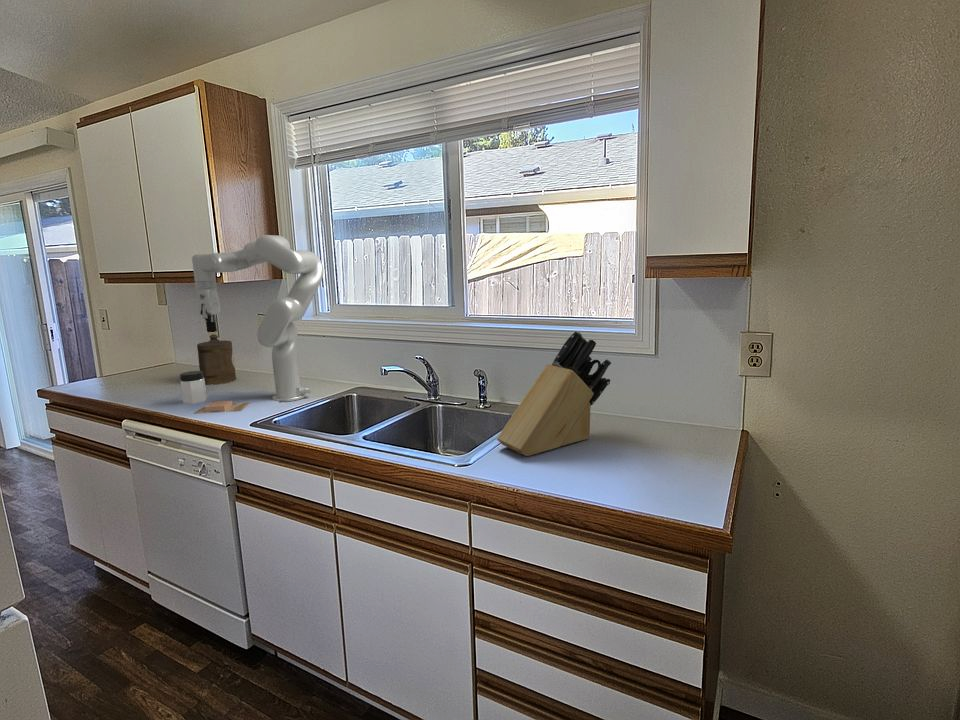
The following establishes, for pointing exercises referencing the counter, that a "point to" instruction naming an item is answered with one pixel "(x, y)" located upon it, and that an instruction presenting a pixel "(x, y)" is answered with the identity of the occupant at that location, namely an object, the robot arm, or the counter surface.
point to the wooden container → (216, 361)
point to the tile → (218, 406)
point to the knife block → (558, 401)
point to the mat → (232, 409)
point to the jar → (193, 387)
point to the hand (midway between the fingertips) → (212, 331)
